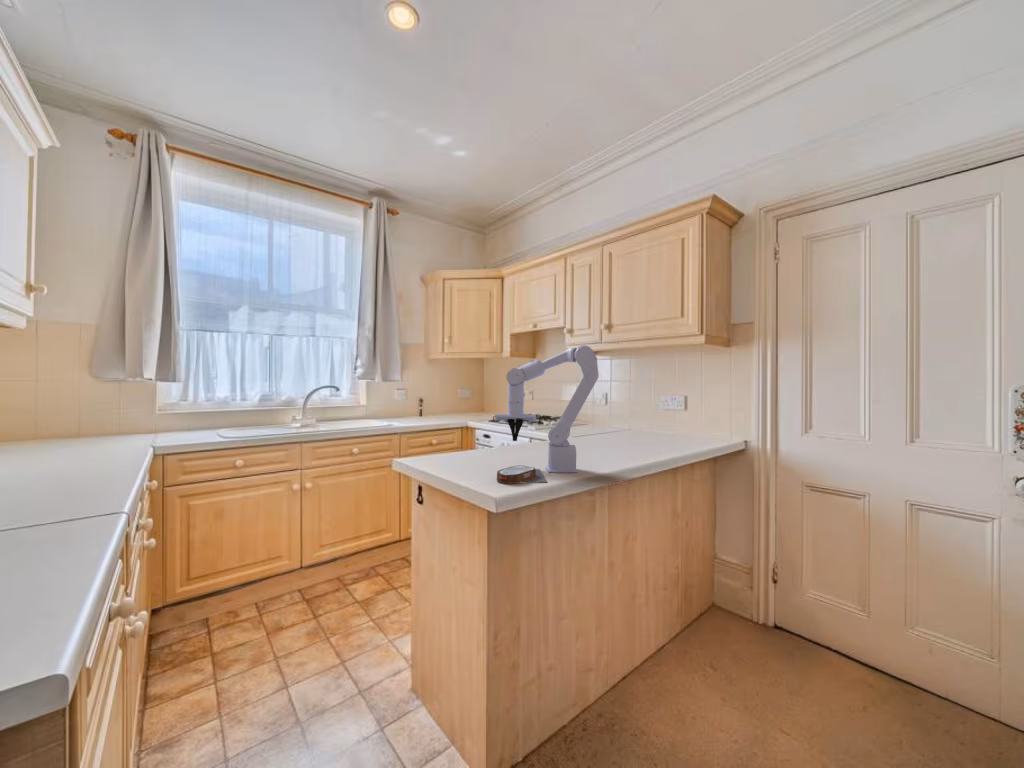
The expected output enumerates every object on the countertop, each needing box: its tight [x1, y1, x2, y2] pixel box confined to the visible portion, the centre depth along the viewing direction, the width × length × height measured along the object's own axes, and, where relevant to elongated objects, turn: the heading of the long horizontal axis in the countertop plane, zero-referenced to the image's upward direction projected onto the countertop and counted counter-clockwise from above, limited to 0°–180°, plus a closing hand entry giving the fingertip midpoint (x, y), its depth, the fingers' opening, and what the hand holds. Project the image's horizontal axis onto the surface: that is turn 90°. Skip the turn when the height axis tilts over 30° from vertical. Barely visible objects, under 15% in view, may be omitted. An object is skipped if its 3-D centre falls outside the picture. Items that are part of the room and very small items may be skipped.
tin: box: [496, 464, 536, 484], centre depth 130 cm, size 15×3×8 cm
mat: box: [523, 468, 548, 484], centre depth 134 cm, size 11×17×1 cm, turn 4°
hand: (514, 440), depth 147 cm, fingers closed
